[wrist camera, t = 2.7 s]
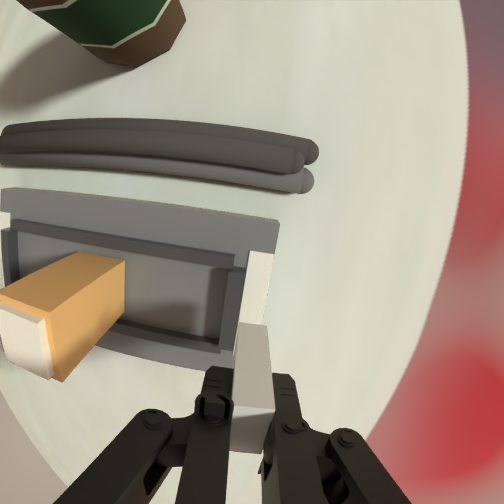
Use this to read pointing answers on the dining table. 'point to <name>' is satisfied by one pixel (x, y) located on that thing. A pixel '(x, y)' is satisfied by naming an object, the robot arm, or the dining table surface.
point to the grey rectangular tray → (152, 267)
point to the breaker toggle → (61, 312)
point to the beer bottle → (115, 26)
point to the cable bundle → (165, 150)
